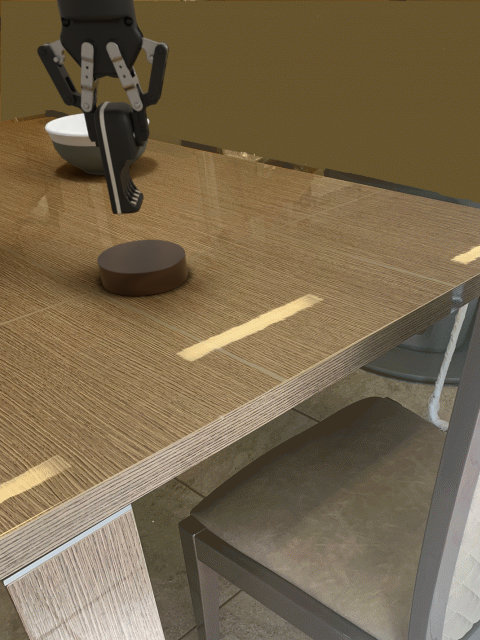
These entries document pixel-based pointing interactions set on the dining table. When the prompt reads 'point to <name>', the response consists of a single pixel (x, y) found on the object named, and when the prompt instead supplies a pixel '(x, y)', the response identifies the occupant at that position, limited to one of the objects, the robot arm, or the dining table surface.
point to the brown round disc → (142, 267)
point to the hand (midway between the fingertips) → (121, 144)
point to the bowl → (79, 144)
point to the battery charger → (118, 155)
